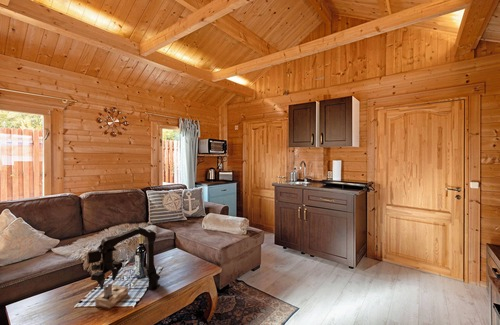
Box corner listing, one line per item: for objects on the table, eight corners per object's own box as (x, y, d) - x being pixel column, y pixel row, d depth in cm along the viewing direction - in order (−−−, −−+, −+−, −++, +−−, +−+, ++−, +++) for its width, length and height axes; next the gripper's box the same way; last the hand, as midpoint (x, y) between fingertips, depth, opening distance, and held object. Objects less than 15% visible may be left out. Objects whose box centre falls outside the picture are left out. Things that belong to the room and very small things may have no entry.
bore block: (114, 292, 159) (114, 285, 159) (127, 294, 157) (127, 287, 157) (95, 306, 144) (95, 299, 144) (109, 308, 142) (109, 301, 142)
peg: (107, 299, 150) (107, 283, 149) (113, 300, 149) (113, 284, 148) (102, 303, 146) (102, 287, 145) (108, 304, 145) (108, 288, 145)
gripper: (108, 251, 157) (108, 275, 158) (82, 264, 139) (83, 291, 139) (123, 253, 155) (123, 277, 155) (99, 266, 136) (99, 293, 137)
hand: (107, 284), depth 147 cm, fingers open, 9 cm apart
